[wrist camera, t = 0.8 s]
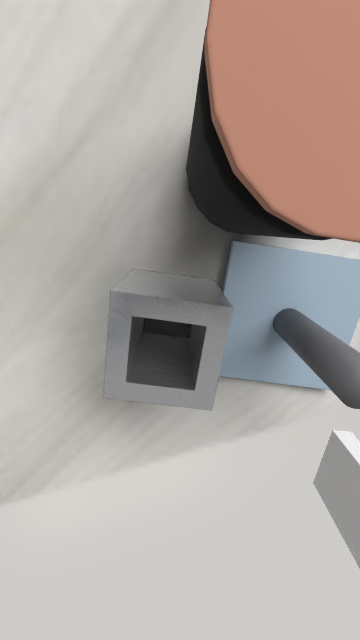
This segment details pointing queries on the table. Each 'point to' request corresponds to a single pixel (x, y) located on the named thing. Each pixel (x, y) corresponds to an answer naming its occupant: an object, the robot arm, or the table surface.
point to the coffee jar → (279, 119)
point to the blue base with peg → (293, 319)
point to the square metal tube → (166, 340)
